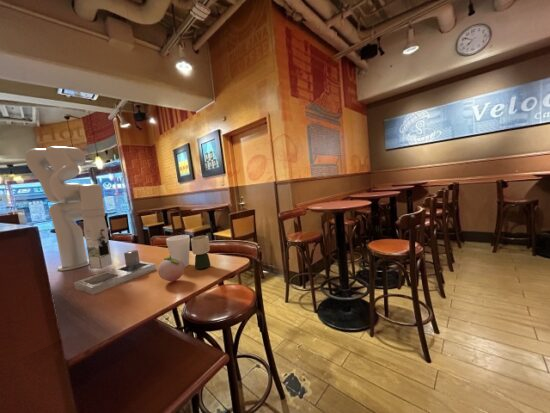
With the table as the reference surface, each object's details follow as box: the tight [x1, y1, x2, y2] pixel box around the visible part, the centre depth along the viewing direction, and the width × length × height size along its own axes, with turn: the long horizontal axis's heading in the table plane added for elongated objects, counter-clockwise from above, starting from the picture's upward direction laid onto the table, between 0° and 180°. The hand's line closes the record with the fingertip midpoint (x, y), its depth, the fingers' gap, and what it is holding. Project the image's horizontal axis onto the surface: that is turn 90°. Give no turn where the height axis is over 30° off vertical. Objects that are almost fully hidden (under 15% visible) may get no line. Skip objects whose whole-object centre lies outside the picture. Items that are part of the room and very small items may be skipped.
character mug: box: [190, 235, 211, 270], centre depth 96 cm, size 11×7×13 cm, turn 55°
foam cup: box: [165, 234, 191, 268], centre depth 99 cm, size 10×9×13 cm
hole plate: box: [73, 249, 157, 295], centre depth 91 cm, size 13×24×9 cm, turn 152°
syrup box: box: [84, 236, 113, 270], centre depth 98 cm, size 6×6×14 cm
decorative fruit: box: [157, 255, 185, 283], centre depth 83 cm, size 9×8×10 cm
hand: (99, 253), depth 99 cm, fingers closed on syrup box, 7 cm apart
